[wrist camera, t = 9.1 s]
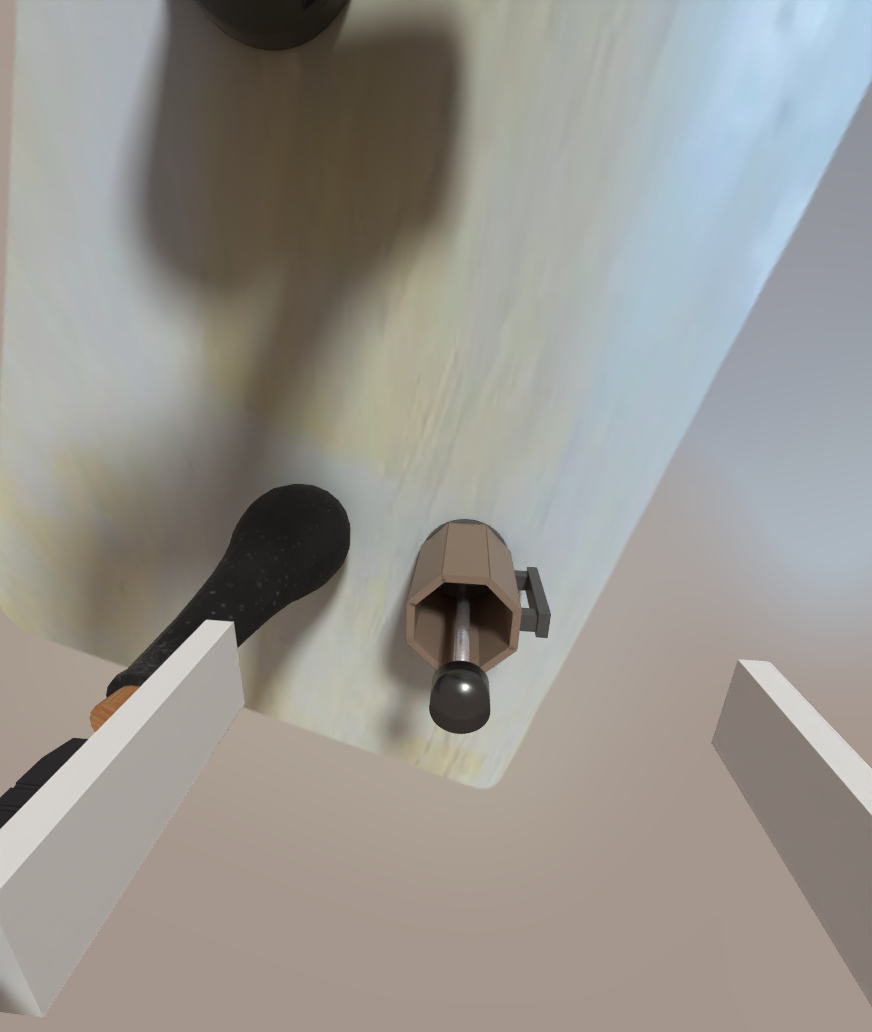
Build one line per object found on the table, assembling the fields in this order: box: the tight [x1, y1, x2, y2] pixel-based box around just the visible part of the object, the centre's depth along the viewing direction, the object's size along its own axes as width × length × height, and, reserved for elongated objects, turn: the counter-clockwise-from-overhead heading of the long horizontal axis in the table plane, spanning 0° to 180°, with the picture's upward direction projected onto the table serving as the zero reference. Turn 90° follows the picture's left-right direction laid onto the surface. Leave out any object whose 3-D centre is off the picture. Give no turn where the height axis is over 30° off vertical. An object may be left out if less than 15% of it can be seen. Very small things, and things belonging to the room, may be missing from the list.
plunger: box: [429, 582, 490, 734], centre depth 40 cm, size 7×7×21 cm
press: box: [406, 519, 551, 672], centre depth 45 cm, size 10×12×13 cm
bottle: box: [90, 484, 350, 732], centre depth 37 cm, size 11×11×30 cm
